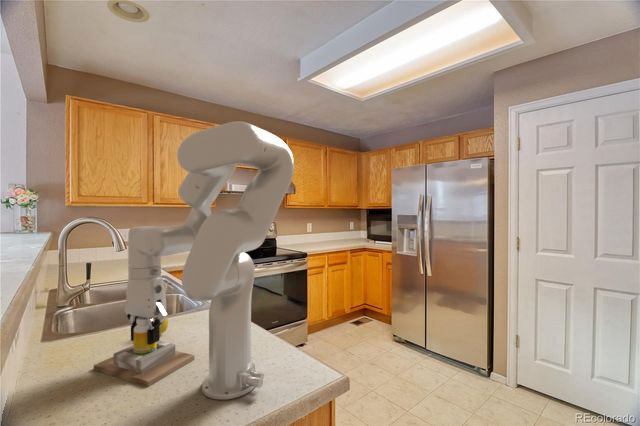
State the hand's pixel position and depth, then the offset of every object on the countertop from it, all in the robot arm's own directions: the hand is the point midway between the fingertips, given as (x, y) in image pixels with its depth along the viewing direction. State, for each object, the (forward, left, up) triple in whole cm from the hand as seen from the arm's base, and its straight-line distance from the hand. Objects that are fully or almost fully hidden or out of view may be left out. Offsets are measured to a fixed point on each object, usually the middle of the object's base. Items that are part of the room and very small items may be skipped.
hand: (145, 340), depth 82 cm
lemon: (+13, -15, -7) cm, 21 cm away
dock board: (0, 0, -7) cm, 7 cm away
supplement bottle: (0, 0, -4) cm, 4 cm away
